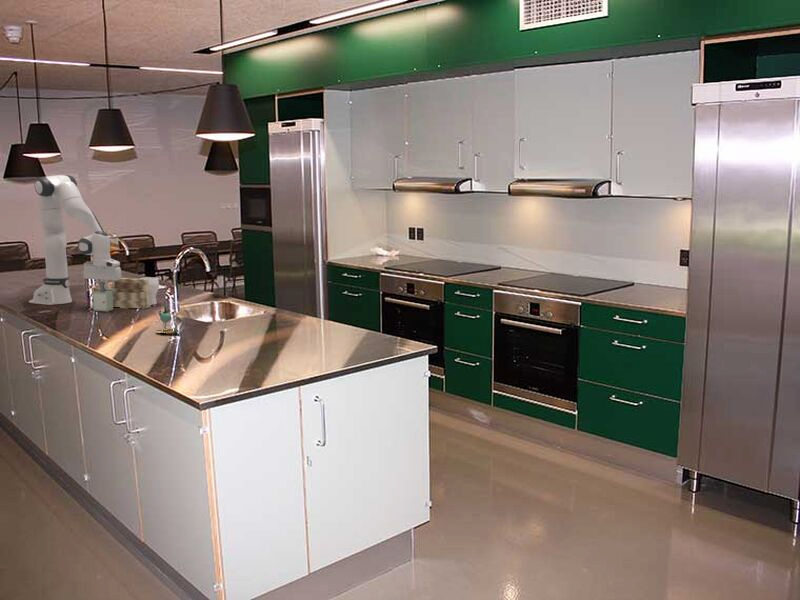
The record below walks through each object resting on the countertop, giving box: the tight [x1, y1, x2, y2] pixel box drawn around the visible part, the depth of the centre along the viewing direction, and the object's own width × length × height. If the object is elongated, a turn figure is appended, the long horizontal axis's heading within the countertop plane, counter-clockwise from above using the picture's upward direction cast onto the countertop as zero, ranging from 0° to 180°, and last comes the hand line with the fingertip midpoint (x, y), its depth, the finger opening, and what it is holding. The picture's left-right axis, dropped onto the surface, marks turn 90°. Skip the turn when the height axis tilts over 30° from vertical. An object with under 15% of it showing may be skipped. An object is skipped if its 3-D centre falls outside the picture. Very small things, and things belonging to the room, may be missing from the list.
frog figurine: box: [155, 304, 180, 334], centre depth 356 cm, size 10×18×15 cm, turn 41°
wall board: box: [111, 277, 152, 309], centre depth 416 cm, size 20×7×16 cm, turn 82°
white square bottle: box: [92, 281, 115, 312], centre depth 406 cm, size 8×9×15 cm
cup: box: [139, 276, 160, 305], centre depth 426 cm, size 11×11×15 cm
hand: (102, 287), depth 405 cm, fingers closed on white square bottle
